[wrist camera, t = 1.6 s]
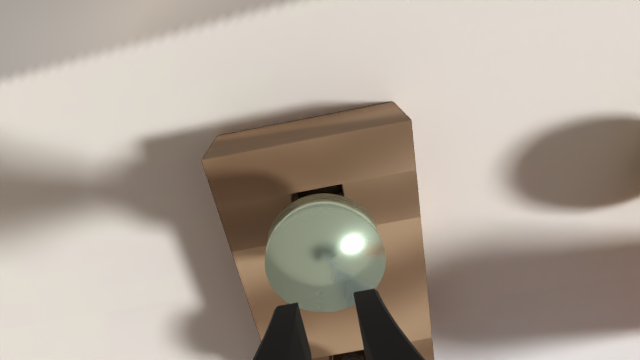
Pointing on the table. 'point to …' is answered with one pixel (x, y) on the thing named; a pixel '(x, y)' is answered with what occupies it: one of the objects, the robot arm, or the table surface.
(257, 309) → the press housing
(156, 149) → the table surface
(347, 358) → the silver knob
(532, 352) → the table surface
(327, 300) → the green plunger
